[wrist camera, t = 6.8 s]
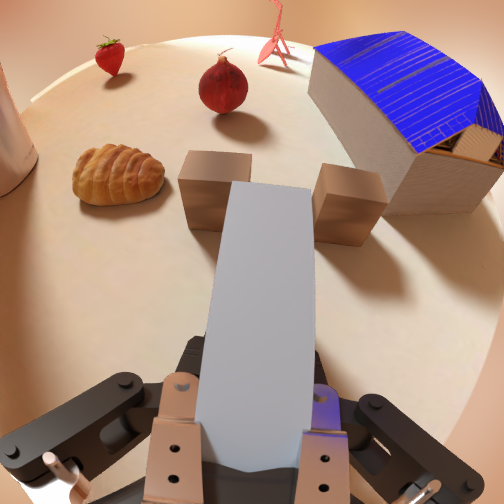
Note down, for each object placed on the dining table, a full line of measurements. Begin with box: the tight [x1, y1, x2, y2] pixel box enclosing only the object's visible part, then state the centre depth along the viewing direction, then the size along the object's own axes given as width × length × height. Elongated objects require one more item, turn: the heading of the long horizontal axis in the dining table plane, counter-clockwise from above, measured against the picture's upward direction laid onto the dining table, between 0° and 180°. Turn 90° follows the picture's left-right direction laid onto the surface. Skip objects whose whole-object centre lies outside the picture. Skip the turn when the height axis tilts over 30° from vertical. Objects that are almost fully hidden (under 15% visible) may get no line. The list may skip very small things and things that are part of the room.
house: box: [308, 31, 504, 216], centre depth 24 cm, size 25×16×16 cm, turn 8°
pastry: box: [72, 144, 165, 206], centre depth 22 cm, size 9×7×4 cm
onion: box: [199, 56, 248, 114], centre depth 27 cm, size 6×6×8 cm
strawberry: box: [95, 39, 125, 76], centre depth 36 cm, size 6×8×10 cm
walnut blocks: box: [178, 150, 388, 247], centre depth 20 cm, size 14×3×6 cm, turn 85°
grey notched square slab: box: [194, 181, 315, 472], centre depth 12 cm, size 10×3×10 cm, turn 175°
